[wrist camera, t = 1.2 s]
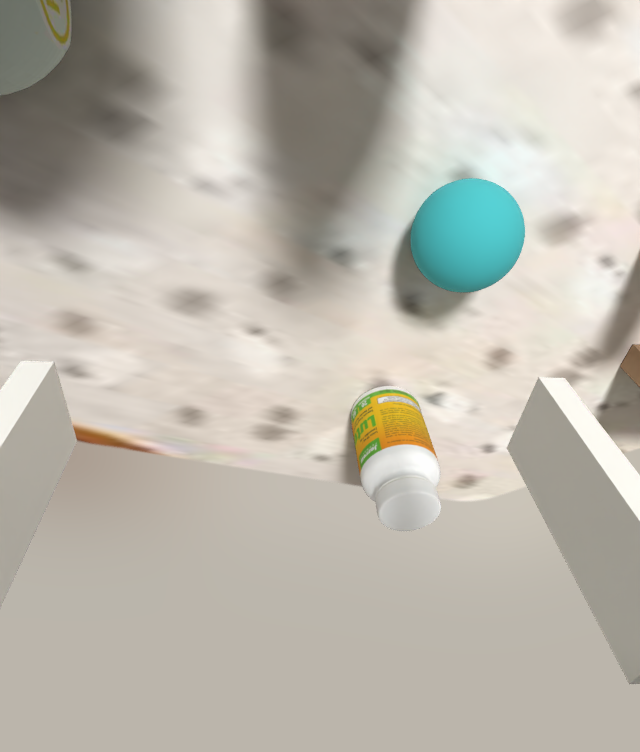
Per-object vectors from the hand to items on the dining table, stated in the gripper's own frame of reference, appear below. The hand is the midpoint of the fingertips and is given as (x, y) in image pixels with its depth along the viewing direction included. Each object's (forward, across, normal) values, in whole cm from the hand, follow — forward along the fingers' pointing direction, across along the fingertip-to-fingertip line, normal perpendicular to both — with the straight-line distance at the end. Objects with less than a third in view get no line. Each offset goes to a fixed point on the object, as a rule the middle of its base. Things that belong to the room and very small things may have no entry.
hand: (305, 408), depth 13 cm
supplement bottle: (+18, +8, -16) cm, 26 cm away
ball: (+15, +10, 0) cm, 18 cm away
